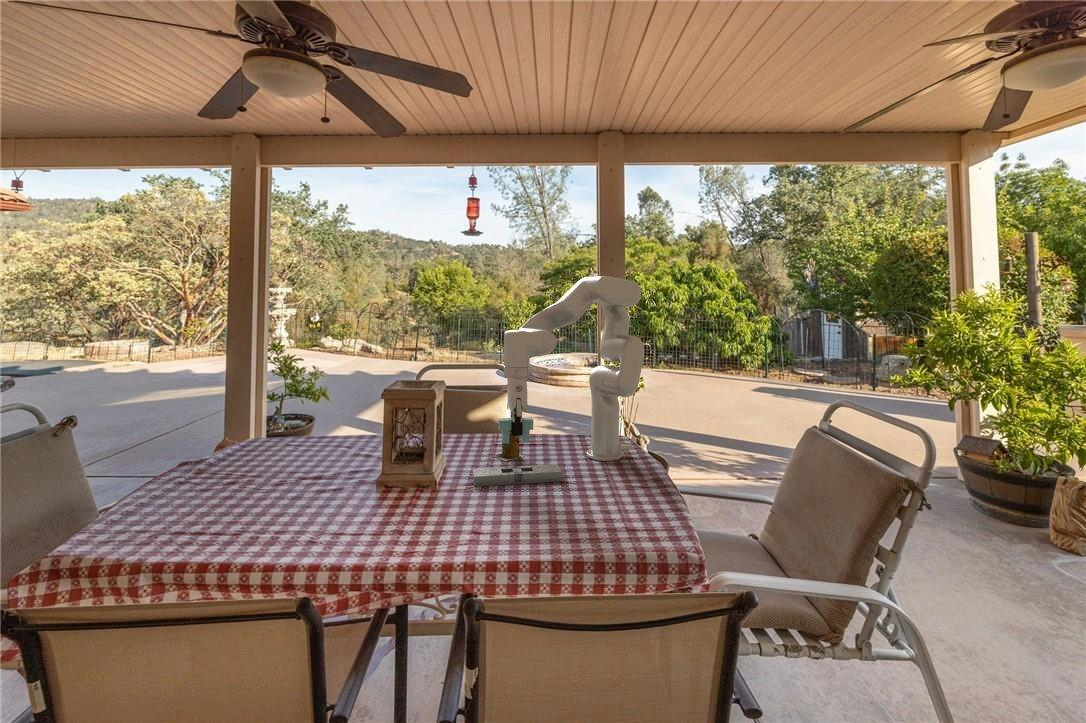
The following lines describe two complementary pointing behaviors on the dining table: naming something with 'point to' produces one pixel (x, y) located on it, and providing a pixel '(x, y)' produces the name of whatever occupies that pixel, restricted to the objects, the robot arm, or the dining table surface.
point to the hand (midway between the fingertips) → (516, 433)
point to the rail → (516, 475)
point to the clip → (506, 426)
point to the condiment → (510, 449)
